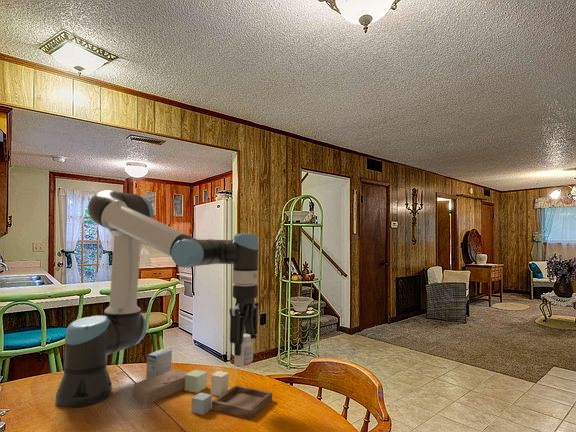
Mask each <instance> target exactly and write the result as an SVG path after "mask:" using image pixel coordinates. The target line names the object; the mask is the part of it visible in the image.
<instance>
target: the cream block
mask: <svg viewBox="0 0 576 432" xmlns="http://www.w3.org/2000/svg"><path fill="white" fill-rule="evenodd" d="M229 376H230V374H229V372H227V371H221V370H217V371H215V372H213V373H212V374H211V375H210V395H212V396H217V397H219V396H221V395H222V394H224V393H225V392H227V391H228V390H229V378H230V377H229Z"/></svg>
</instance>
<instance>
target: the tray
mask: <svg viewBox="0 0 576 432" xmlns="http://www.w3.org/2000/svg"><path fill="white" fill-rule="evenodd" d="M272 401H273V392H271V391H267V390H262V389H259V388H253V387H248V386H243V385H238V384H235V385H234V386H232V387H231V388H229V389H228V391H227V392H225V393H224V394H222V395H221V396H217V397H216V398H215V399H214V400H213V399H212V404H211V410H212V411H216V412H220V413H224V414H228V415H233V416H237V417H241V418H244V419H248V420H252V419H254V417H256V416H257V415H258V414H259V413H261V411H262V410H264V408H266V406H268V405H269V404H270V403H271V402H272Z"/></svg>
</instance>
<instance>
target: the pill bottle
mask: <svg viewBox="0 0 576 432" xmlns="http://www.w3.org/2000/svg"><path fill="white" fill-rule="evenodd" d="M250 340H251V335H250V334H246V333H244V334H243V342H242V343H244V366H243V367H248V366H250V365H252V362H253V361H252V342H251V341H250Z"/></svg>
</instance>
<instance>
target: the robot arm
mask: <svg viewBox="0 0 576 432" xmlns="http://www.w3.org/2000/svg"><path fill="white" fill-rule="evenodd" d="M87 211H88V215H89V217H90V219H91V220H92V221H93V222H94V223H96V224H98V226H99V225H100V226H101V227H103V228H105V229H107V230H109V232H110V233H111V234H112V235H113V245H112V246H113V248H112V249H113V250H112V264H111V276H110V277H111V280H110V282H111V283H110V293H109V295H110V296H109V297H110V298H109V305H108V306H107V307H105V309H104V311H103V315H91V316H86V317H81V318H79V319H75V320H74V321H72V322H70V324H68V326H67V328H66V331H65V332H66V333H65V337H64V345H65V346H64V362H63V364H64V365H63V375H62V377H61V380H60V383H59V386H58V389H57V391H56V393H55V400H54V401H55V404H56V405H57V406H59V407H63V408H80V407H85V406H89V405H90V406H91V405H93V404H97V403H99V402H102V401H104V400H106V399H107V398H109V397H110V396H111V395H112V393H113V391H112V390H113V384H112V381H111V377H110V374H109V371H108V368H107V367H108V356H109V355H112V354H114V353H115V354H116V353H118V352H121V351H124V350H126V349H130V348H132V347H134V346H136V345H138V344H139V343H140V342H141V341H142V340H143V339H144V337H145V336H146V333H147V329H148V324H147V319H146V318H145V315H144V314H143V313H141V312H142V309H141V308H140V306H138V304H137V303H138V301H137V300H138V285H139V272H140V271H139V269H140V253H141V243H142V244H145V245H146V246H149V247H151V248H152V249H155V250H157V251H159V252H161V253H163V254H165V255H167V256H169V257H171V259H172V261H173V262H174V264H175V265H177V266H178V267H181V268H193V267H199V266H200V267H201V266H209V265H232V283H233V284H234V285H233V286H232V298H234V299H235V304H234V307H233V308H230V309H229V316H230V322H229V323H230V325H229V326H230V327H229V331H230V333H229V343H231V344H234V363H233V364H234V367H240V368H244V367H245V366H244V343H242V342H243V334H250V335H251V340H250V341H251V342H252V362H253V361H254V339H257V337H258V321H259V319H258V317H259V316H258V312H259V311H258V310H259V305H260V304H259V302H256V301H255V300H254V299H256V298H258V285H257V284H258V279H259V278H258V277H259V267H258V266H259V262H258V261H259V250H260V247H259V237H258V235H257V234H256V233H234V235H233V239H197V238H195V237H192V236H191V235H188V234H186V233H184V232H181V231H179V230H177V229H175V228H174V227H171V226H169V225H167V224H165V223H162V222H160V221H158V220H156V219H154V207H153V205H152V203H151V201H150V200H149V199H148V198H147V197H145V196H143V195H139V194H137V193H129V192H122V191H115V190H109V189H108V190H102V191H99V192H97V193H95V194H94V195H93V196H92V197H91V198H90V200H89V202H88V205H87ZM244 332H245V333H244Z"/></svg>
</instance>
